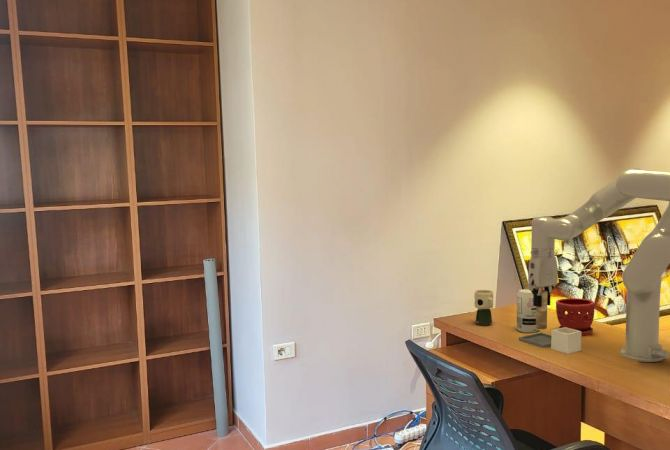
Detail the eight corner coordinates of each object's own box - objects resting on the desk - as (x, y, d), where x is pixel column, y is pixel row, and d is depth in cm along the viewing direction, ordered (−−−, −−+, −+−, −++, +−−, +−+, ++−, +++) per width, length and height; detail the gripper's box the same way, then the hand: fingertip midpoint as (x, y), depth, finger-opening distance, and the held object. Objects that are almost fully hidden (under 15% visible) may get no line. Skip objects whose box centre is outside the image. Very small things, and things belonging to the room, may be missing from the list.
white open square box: (581, 352, 208) (581, 331, 207) (567, 355, 204) (567, 334, 204) (564, 347, 213) (565, 327, 213) (551, 350, 210) (551, 330, 209)
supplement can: (523, 326, 241) (523, 287, 239) (543, 330, 235) (543, 290, 233) (512, 330, 235) (512, 291, 233) (532, 334, 229) (533, 294, 228)
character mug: (468, 322, 249) (468, 289, 248) (483, 319, 252) (483, 287, 250) (484, 328, 239) (484, 295, 238) (500, 326, 241) (500, 293, 240)
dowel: (549, 328, 218) (549, 291, 216) (541, 329, 216) (542, 292, 215) (540, 325, 221) (541, 289, 219) (533, 327, 219) (534, 290, 218)
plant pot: (596, 330, 232) (597, 298, 231) (590, 339, 221) (591, 306, 220) (559, 326, 239) (559, 295, 238) (552, 335, 228) (552, 302, 226)
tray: (566, 344, 217) (566, 339, 217) (543, 349, 211) (543, 344, 211) (541, 336, 226) (541, 332, 226) (518, 341, 221) (518, 337, 221)
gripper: (533, 256, 208) (532, 311, 210) (568, 252, 216) (567, 304, 218) (516, 253, 215) (516, 306, 217) (550, 249, 223) (549, 300, 225)
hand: (541, 304), depth 218 cm, fingers closed on dowel, 3 cm apart
